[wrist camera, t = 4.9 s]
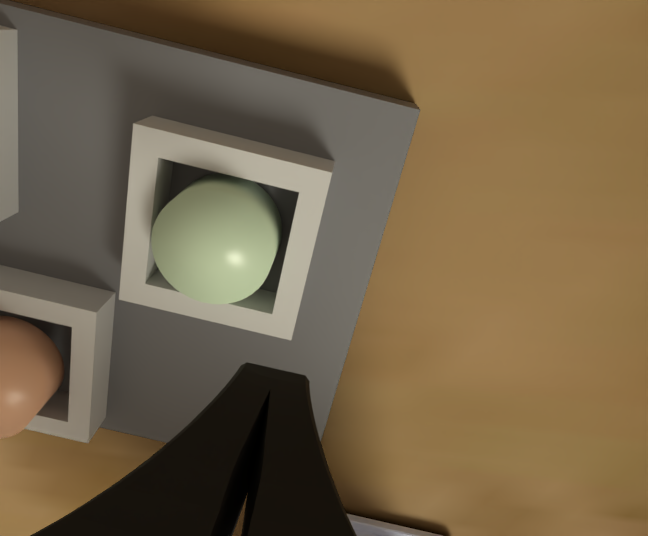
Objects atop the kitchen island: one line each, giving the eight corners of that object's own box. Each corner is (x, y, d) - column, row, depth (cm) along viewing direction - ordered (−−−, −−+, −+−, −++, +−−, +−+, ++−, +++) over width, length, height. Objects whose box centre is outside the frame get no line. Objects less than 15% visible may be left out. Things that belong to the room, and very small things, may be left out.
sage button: (270, 287, 18) (260, 316, 17) (167, 262, 18) (146, 288, 16) (292, 188, 17) (283, 207, 15) (180, 160, 17) (157, 176, 15)
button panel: (313, 449, 23) (306, 505, 21) (-108, 351, 23) (-173, 395, 20) (415, 103, 17) (425, 117, 15) (-158, -43, 17) (-260, -57, 14)
